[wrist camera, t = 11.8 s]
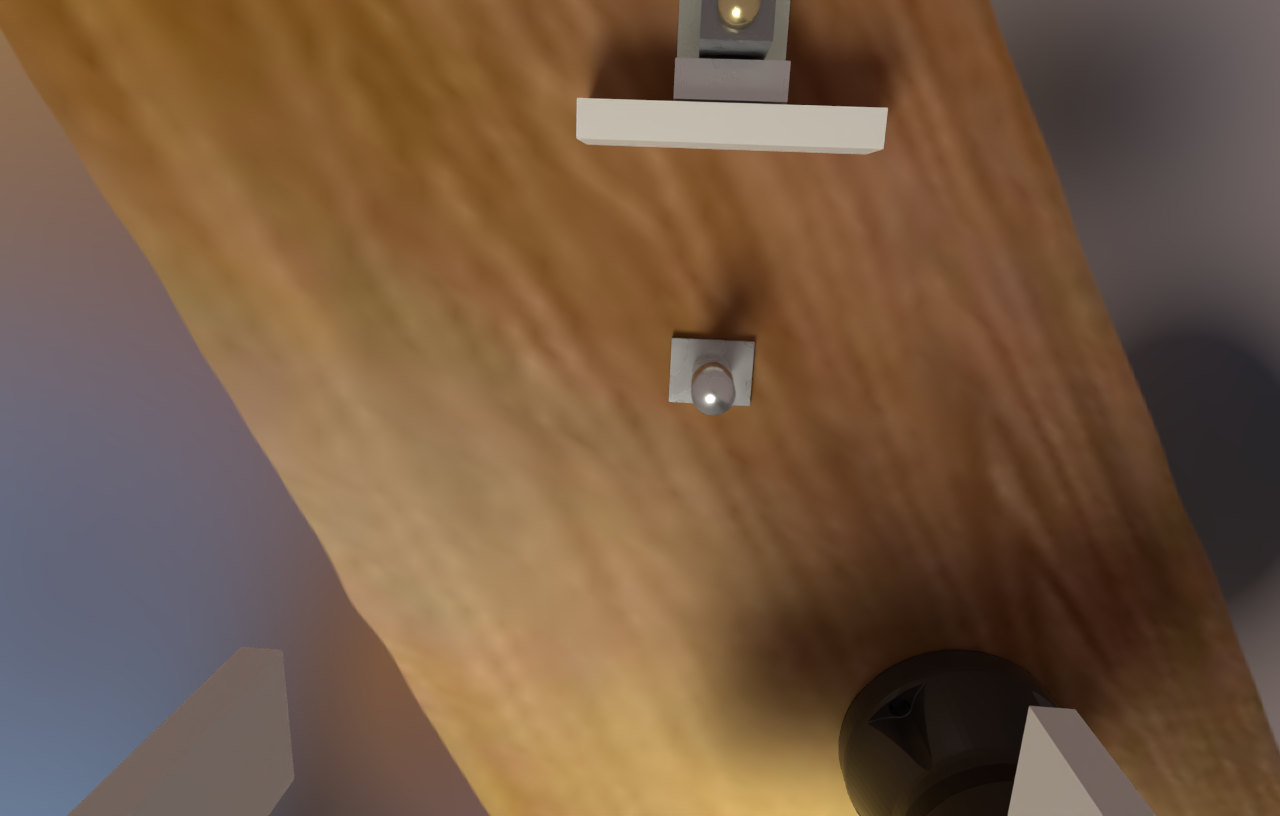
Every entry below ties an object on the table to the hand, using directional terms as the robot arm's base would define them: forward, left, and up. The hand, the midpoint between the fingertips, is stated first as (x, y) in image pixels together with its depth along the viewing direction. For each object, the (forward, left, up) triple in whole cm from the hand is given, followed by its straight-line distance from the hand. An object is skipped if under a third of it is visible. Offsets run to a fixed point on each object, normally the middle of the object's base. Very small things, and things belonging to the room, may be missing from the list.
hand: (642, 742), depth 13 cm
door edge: (+14, -2, -35) cm, 37 cm away
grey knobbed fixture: (0, -2, -35) cm, 35 cm away
